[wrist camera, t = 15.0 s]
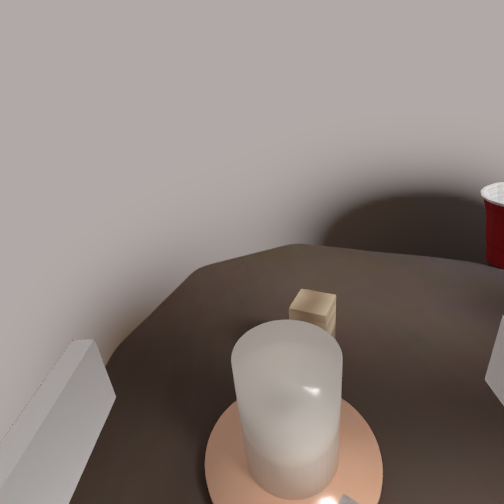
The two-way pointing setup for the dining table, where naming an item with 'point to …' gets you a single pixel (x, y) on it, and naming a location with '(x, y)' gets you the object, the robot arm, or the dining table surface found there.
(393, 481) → the dining table surface
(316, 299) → the beech block
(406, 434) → the dining table surface
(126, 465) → the dining table surface
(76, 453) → the robot arm
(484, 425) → the dining table surface
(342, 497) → the white square pad
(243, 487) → the peach round disc
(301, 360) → the white pillar candle
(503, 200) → the plastic cup
